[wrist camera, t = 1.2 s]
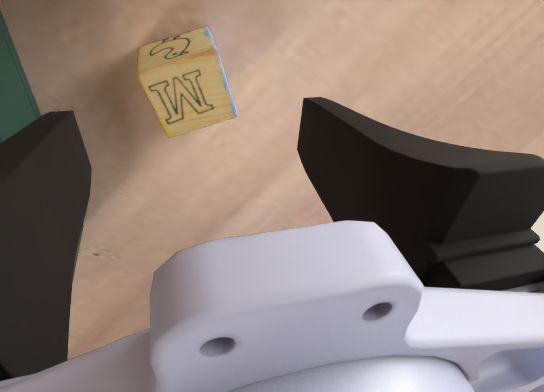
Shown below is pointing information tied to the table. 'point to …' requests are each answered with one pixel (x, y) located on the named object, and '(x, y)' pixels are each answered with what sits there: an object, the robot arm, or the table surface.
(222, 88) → the alphabet block
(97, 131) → the table surface
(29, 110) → the tray
